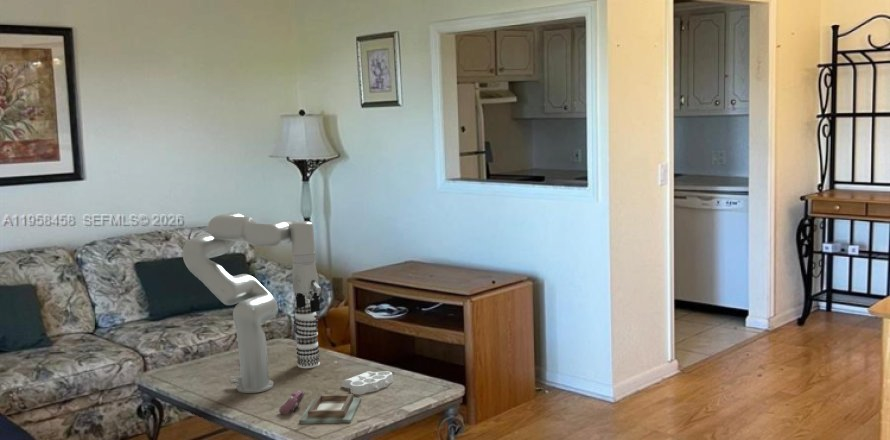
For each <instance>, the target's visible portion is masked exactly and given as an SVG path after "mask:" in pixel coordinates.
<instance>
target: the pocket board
mask: <svg viewBox="0 0 890 440" xmlns="http://www.w3.org/2000/svg"><path fill="white" fill-rule="evenodd" d="M361 400H362V397H354V394H352V393H348V394H347V393H346V394H345V393H344V394H343V393H341V394H340V393H339V394H338V393H337V394H332V393H331V394H317V396H316V397H314V398H312V399H311V401H310V403H309V405H308V406H307V408H306V410H305V411H304V412H303V414H302V415H301V417H300V418H299V420H298V421H299V422H298V423H299V424H347V423H348V424H351V423H352V421H353V420H354V417H355V415H356V413H357V411H358V409H359V407H360V405H361V403H362V401H361Z"/></svg>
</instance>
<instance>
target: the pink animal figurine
mask: <svg viewBox="0 0 890 440" xmlns="http://www.w3.org/2000/svg"><path fill="white" fill-rule="evenodd" d="M305 393H306V392H304V391H302V390H298V389H297V390H295V391H293V392H292V393H291V394H290V397H288V399H287V400H286V402H284V404H283V405H281V406H280V407H279V409H278V411H279V414H282V415H284V414H287V413H288V412H290V411H291V412H294V411H295V409H296V408H298V407H299V406H300V403H301V402H302V401H303V399H304V396H305Z"/></svg>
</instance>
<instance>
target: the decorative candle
mask: <svg viewBox="0 0 890 440" xmlns="http://www.w3.org/2000/svg"><path fill="white" fill-rule="evenodd" d="M310 300H311V299H310V298H305V302H306V306H305V307H302V308H297V305H296V303H295V304H294V305H293V306H294V315H293V320H294V321H293V324H294V325H295V326H294V333H295V337H296V341H297V342H296V356H297V357H296V359H297V361H296V362H297V367H298V368H300V369H313V368H317V367H319V366H320V365H321V362H320V361H321V359H320V354H319V353H320V350H319V348H320V346H319V342H318V341H319V340H318V335H319V329H318V328H317V327H318V326H319V324H318V322H319V320H318V319H317V318H318V317H319V315H318V314H317V312H311V309H310Z"/></svg>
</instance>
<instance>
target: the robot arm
mask: <svg viewBox="0 0 890 440" xmlns="http://www.w3.org/2000/svg"><path fill="white" fill-rule="evenodd" d="M207 231H208V234H203V235H197V236H195V237H193V238H190V239H189V240H187V241H186V242H185V244H184V245H183V248H182V258H183V262H184V264H185V266H186V268H187V269H188V271H189V272H190V273H191V274H193V276H195V278H197V279H198V280H199V281H201V283H203V285H204V286H205V287H207V289H209V291H210V292H211V293H212V294H213V295H214V296H215V297H216V298H217V299H218V300H219V301H220V302H221V303H222V304H224V305H225V306H234V305H235V307H234V309H232V317H233V322H234V325H235V330H236V337H237V346H238V347H237V348H238V361H239V370H240V371H239V374H240V375H238V376H233V375H232V376H229V378H228V380H229V381H228V382H230V384H237V386H236V390H237V392H239V393H242V394H258V393H261V392H262V393H263V392H267V391H269V390H271V389H272V388H273V387H274V386H275V385H274V384H275V383H274V381H273V380H271V379H270V377H269V365H268V362H269V361H268V350H267V349H268V347H267V338H266V337H267V336H266V334H265V331H264V329H263V327H262V325H261V324H262V323H265V322H268V321H270V320H272V319H274V318H275V317H276V316H277V315H278V312H279V305H278V302H277V300H276V298H275V296H273V295H272V293H271V292H270V291H269V290H268V289H267V288H266V287H265V286H263V285H262V284H261V282H260V281H259V280H258V279H257V278H255V277H254V276H252V275H251V274H248V273H242V274H241V273H240V274H237V275H231V274H230V273H229V272H228V271H226V269H225V268H224V267H223V266H222V265H220V264H218V263H217V262H215V261H213V260H211V259H212V258H217V257H219V256H222V255H225V254H226V253H228V251H229V250H230V249H231V248H232V247H233V246H234V245H235V244H236V243H237V242H245V243H247V244H249V245H251V246H254V247H256V246H257V247H265V248H266V247H269V248H272V247H277V246H281V245H285V244H289V243H291V251H292V289H293V290H292V291H294V296H295V302H296V303H295V304H296V305H297V308H302V307H305V306H306V302H305V299H306V295H308V296H309V299H311V300H310V309H311V312H316V313H317V312H321V311H320V310H321V306H320V305H321V304H320V298H321V291H322V289H321V286H320V284H319V278H318V270H317V265H316V263H317V260H316V259H317V257H316V247H315V245H316V243H315V232H314V224H313V223H312V222H311V221H308V220H303V221H295V220H291V219H290V220H289V219H288V220H281V221H277V222H272V223H265V224H264V223H256V221H255V219H254V218H252V217H251V216H244V215H242V214H241V213H238V212H229V213H223V214H218V215H216V216H214V217H212V218H211V219H210V220H209V222H208V224H207Z"/></svg>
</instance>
